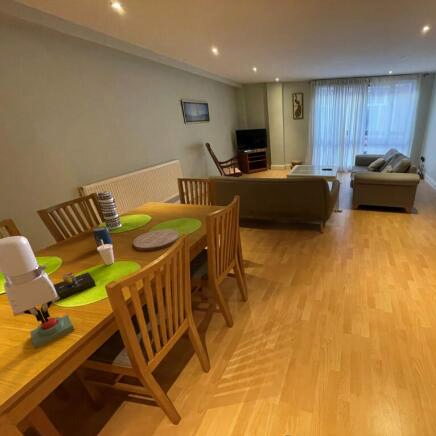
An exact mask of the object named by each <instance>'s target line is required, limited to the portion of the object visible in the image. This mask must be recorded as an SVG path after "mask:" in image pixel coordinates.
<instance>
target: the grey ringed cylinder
mask: <svg viewBox="0 0 436 436" xmlns="http://www.w3.org/2000/svg"><path fill="white" fill-rule="evenodd" d="M96 197H97V200H98V206H99V209H100V211H101V213H102V214H103V220H104V222H105V223H104V224H105V227H106V228H107V229H108V230H114V229H118V228H120V227H122V222H121V219H120V216H119V214H118V211H117V210H118V209H117V206H116V205H117V204H116V199H115V198H114V197H113V195H112V192H110V191H108V190H106V191H105V190H103V191H100V192H98V193H97V194H96Z"/></svg>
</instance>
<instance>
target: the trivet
mask: <svg viewBox="0 0 436 436" xmlns="http://www.w3.org/2000/svg"><path fill="white" fill-rule="evenodd" d="M178 238H179V239H180V232H179V231H178V230H175V229H171V228H169V229H167V228H164V229H163V228H162V229H157V230H151V231H148V232H145V233H142V234H141V235H139V236H137V237H136V238H134V240H133V243H132V244H133V247H134V249H136V250H138V251H145V252H146V251H147V252H149V251H157V250H161V249H165V248H168V247H170V246H173V245H174V244H175V243H177V242H178V241H177V239H178ZM176 241H177V242H176Z"/></svg>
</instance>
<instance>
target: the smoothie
mask: <svg viewBox="0 0 436 436" xmlns="http://www.w3.org/2000/svg"><path fill="white" fill-rule="evenodd" d="M101 242H102V245H101V246H99V247H98V246H97V248H96V250H97V252H98V253H99V255H100V257H101V258H102V260H103V262H104V264H105V265H106V266H111V265H113V264H114V263H115V257H114V251H113V250H114V249H113V248H114V246H113V243H112V244H105V245H104V244H103V241H102V240H101ZM112 263H113V264H112ZM110 264H111V265H110Z"/></svg>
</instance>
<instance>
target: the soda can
mask: <svg viewBox="0 0 436 436" xmlns="http://www.w3.org/2000/svg"><path fill="white" fill-rule="evenodd" d="M92 235H93V237H94V240H95V243H96V246H97V248H98V247H99V246H101V245H102V242H101V240H102V241H103V244H104V245H105V244H112V245H113V241H112V238H111V235H110V232H109V229H107V227H106V226H97V227H95V228H93V231H92Z"/></svg>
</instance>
